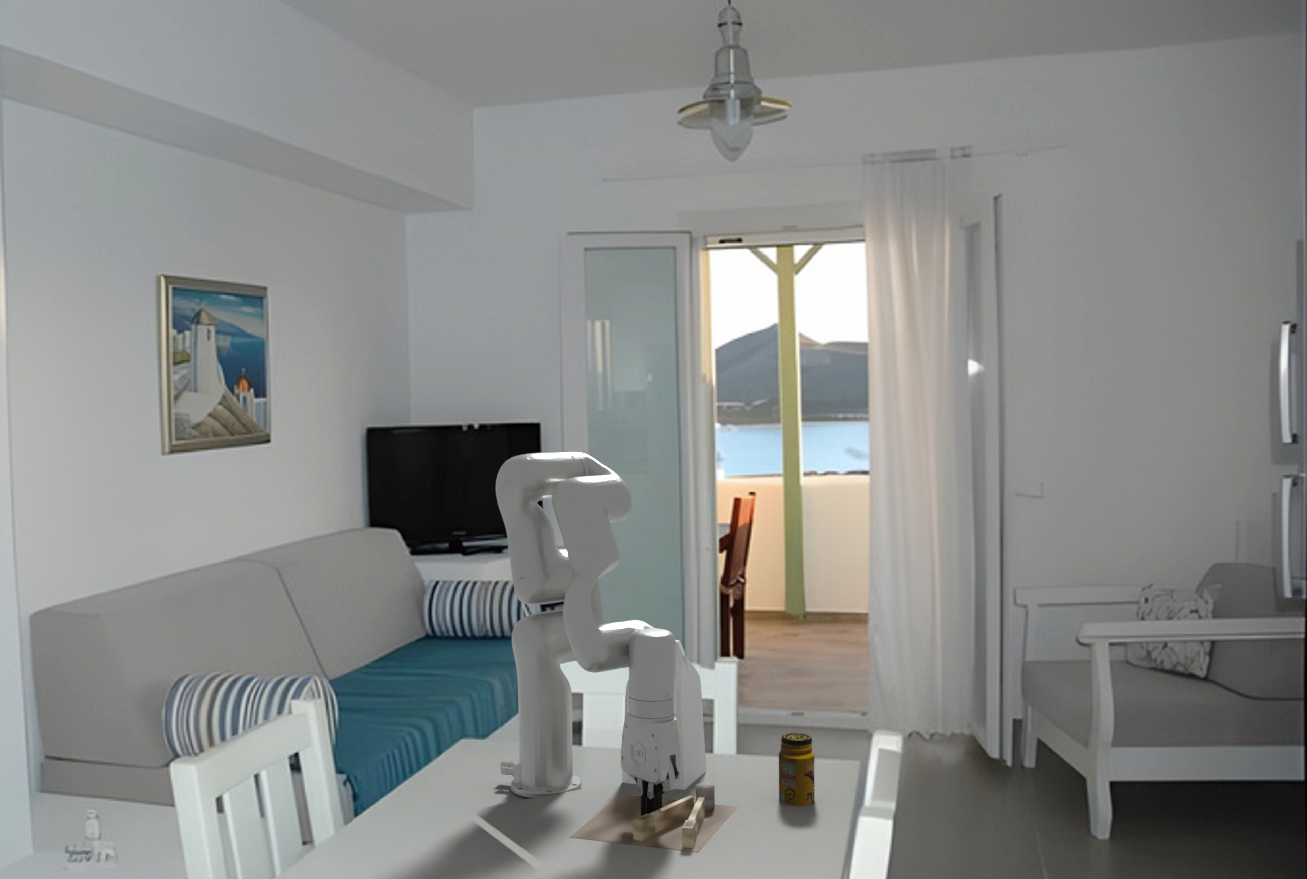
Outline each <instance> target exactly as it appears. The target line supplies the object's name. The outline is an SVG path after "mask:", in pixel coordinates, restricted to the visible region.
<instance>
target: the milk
mask: <svg viewBox="0 0 1307 879" xmlns="http://www.w3.org/2000/svg"><path fill="white" fill-rule="evenodd" d="M675 640H676V695H675V718H676V719H677V725H678V732H679V742H680V774H679V777H678V778H677V779H675V781H676V789H675V790H684V791H685V790H686V789H687V788H689V787H690V786H692V784H693V783H695V782H696V781H697V780H698V779H699V778H701V777H702V776H703V775H704V774H705V773H706V772H707V758H706V746H705V744H706V743H705V742H706V741H705V727H704V726H705V725H704V715H703V713H704V711H703V709H704V708H703V697H702V696H703V693H702V681H701V676H700V673H699V671H697V669H696V668H695V666H694V664H692V662H691V660H690V659H689V658H688V656H686V652H685V650H684V647H683V644H682V642H681V639H679V640H678V639H675ZM624 702H625V703H624V705H625V706H624V717H625V716H626V713H627V712H628V711H629V678H628V680H627V682H626V687H625V701H624ZM621 774H622V775H621V777H622V778H621V779H622V780H621V783H624V784H630V785H637V783H636V781H635V780H634V779H633V778H632V777H630V776H629V775H628V774H627V773H625V772H624V771H623V770H622V773H621ZM656 785H657V784H656Z"/></svg>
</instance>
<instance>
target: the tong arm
mask: <svg viewBox="0 0 1307 879" xmlns="http://www.w3.org/2000/svg"><path fill="white" fill-rule="evenodd" d="M694 802H695V796H694V795H687V796H684V797H683V798H681V799H679V800H677V801H676V802H674V803H671V804H669V805H667V806H665V807H663V808H661V809H658V810H656V811H654V812H652V813H650V814H645V815H643V816H641V817H639V818H636V819H634V820H633V839H635V840H639V841H643V840H645V839H647V838H649V837H651V836H653V835H655V833H657V832H659V831H661V830H663V829H665V828H667V827H670V826H672V825H674V824H676V823H678V822H680V821H682V820H684V819H686V818H688V817H690V814H691V812H692V810H693V808H694Z"/></svg>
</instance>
